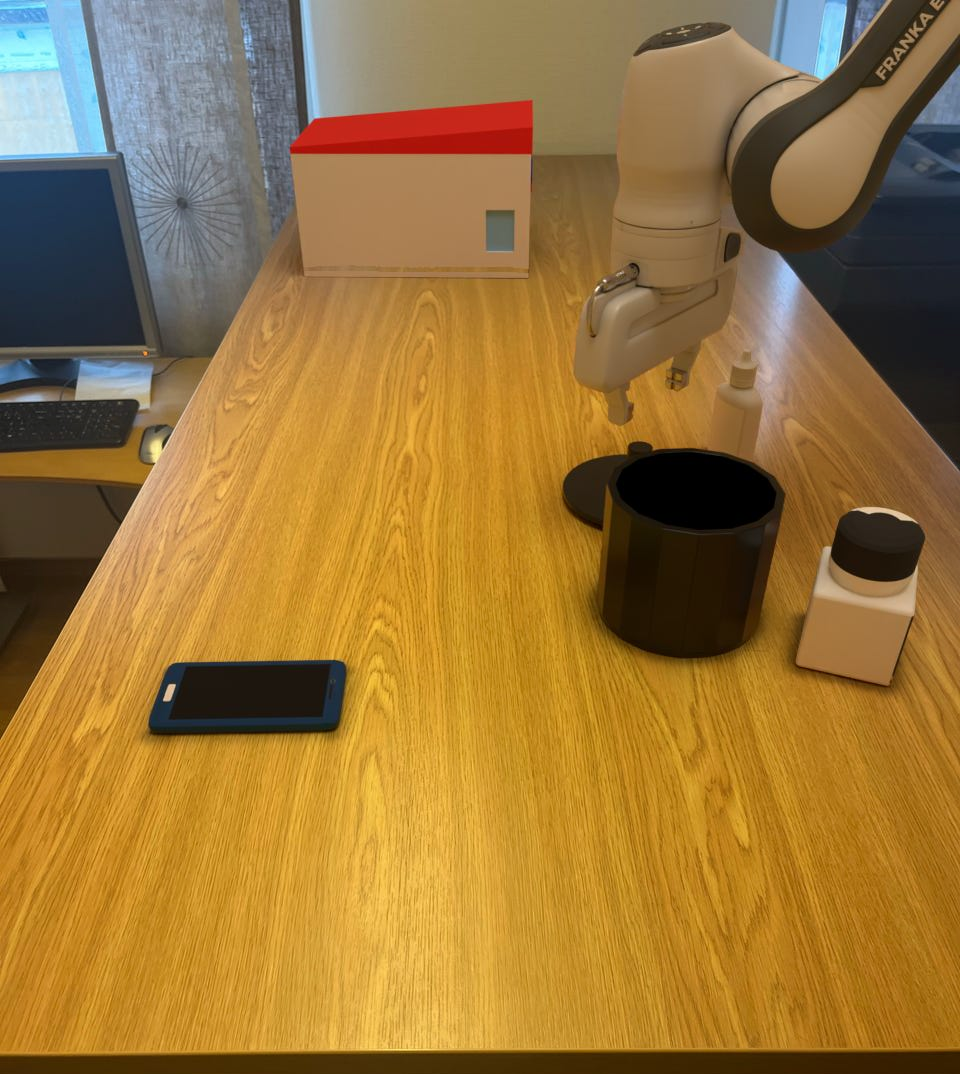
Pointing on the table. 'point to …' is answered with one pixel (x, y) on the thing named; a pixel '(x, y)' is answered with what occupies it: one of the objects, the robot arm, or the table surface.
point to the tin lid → (595, 482)
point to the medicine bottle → (863, 596)
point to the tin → (687, 550)
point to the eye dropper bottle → (737, 411)
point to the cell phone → (249, 696)
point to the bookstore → (416, 190)
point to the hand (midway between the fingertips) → (649, 404)
